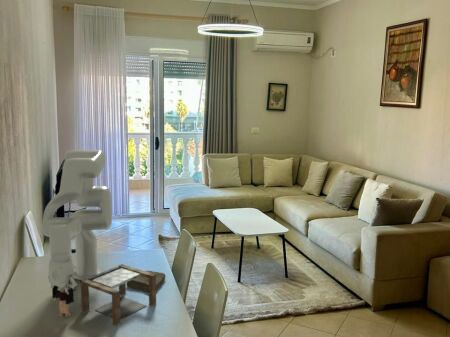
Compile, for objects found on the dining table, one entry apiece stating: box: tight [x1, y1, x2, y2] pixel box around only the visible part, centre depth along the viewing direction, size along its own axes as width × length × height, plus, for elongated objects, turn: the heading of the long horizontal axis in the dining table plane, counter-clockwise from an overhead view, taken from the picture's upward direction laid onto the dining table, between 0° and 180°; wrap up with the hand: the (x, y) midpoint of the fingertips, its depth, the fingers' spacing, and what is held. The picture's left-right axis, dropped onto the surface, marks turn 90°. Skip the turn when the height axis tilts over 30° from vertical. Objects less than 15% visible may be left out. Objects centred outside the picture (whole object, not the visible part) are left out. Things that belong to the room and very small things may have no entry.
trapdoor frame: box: [80, 264, 157, 327], centre depth 169 cm, size 20×21×13 cm
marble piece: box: [126, 270, 166, 294], centre depth 192 cm, size 17×15×4 cm
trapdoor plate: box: [88, 266, 140, 289], centre depth 170 cm, size 13×15×1 cm
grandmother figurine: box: [53, 287, 73, 318], centre depth 163 cm, size 8×4×13 cm, turn 86°
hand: (63, 299), depth 163 cm, fingers closed on grandmother figurine, 7 cm apart
